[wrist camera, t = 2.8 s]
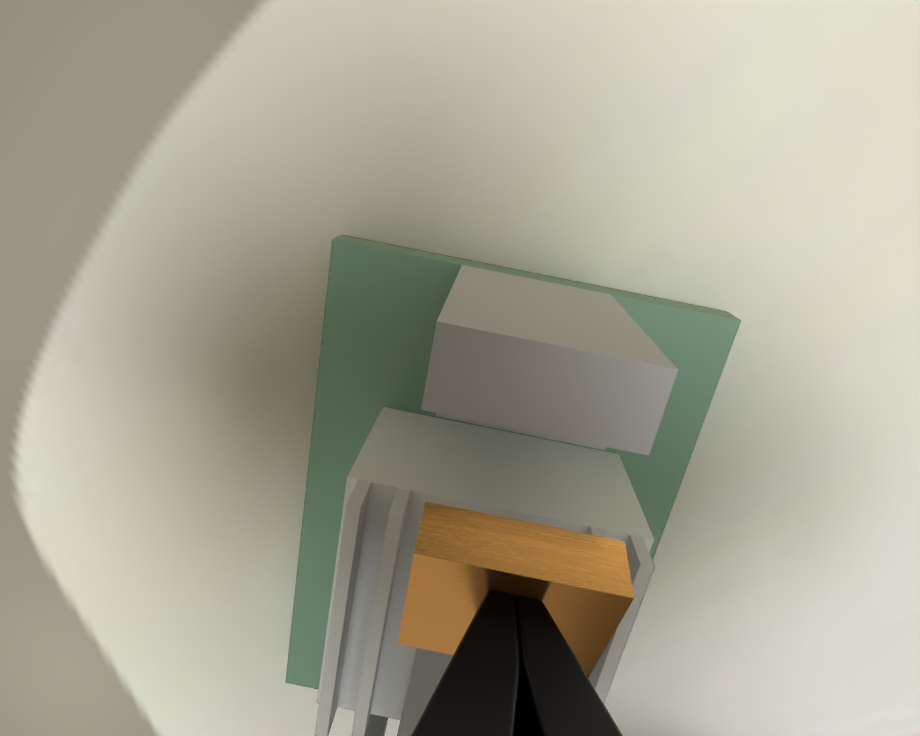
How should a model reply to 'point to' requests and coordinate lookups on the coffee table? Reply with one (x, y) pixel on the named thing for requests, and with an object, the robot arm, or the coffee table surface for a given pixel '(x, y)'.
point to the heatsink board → (398, 373)
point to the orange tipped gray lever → (505, 588)
